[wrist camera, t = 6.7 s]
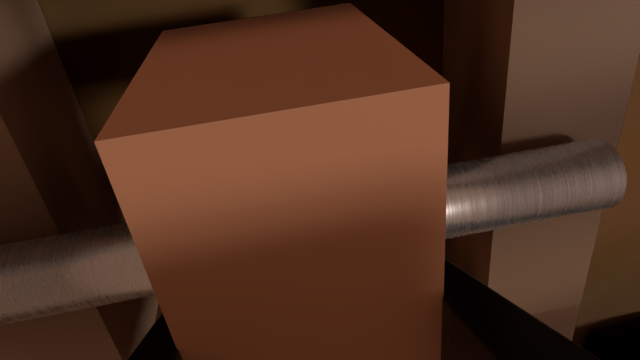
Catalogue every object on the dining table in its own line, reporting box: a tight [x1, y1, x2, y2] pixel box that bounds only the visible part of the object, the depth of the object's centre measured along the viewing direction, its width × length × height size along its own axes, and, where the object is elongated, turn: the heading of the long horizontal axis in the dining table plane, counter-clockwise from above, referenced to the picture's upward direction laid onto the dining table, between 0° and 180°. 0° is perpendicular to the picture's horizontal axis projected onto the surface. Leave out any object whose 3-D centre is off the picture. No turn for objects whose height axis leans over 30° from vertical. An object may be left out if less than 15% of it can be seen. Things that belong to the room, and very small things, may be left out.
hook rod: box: [0, 138, 627, 325], centre depth 10 cm, size 2×14×2 cm, turn 96°
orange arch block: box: [94, 3, 450, 360], centre depth 10 cm, size 8×4×6 cm, turn 7°
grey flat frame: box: [0, 0, 640, 360], centre depth 12 cm, size 15×16×4 cm
